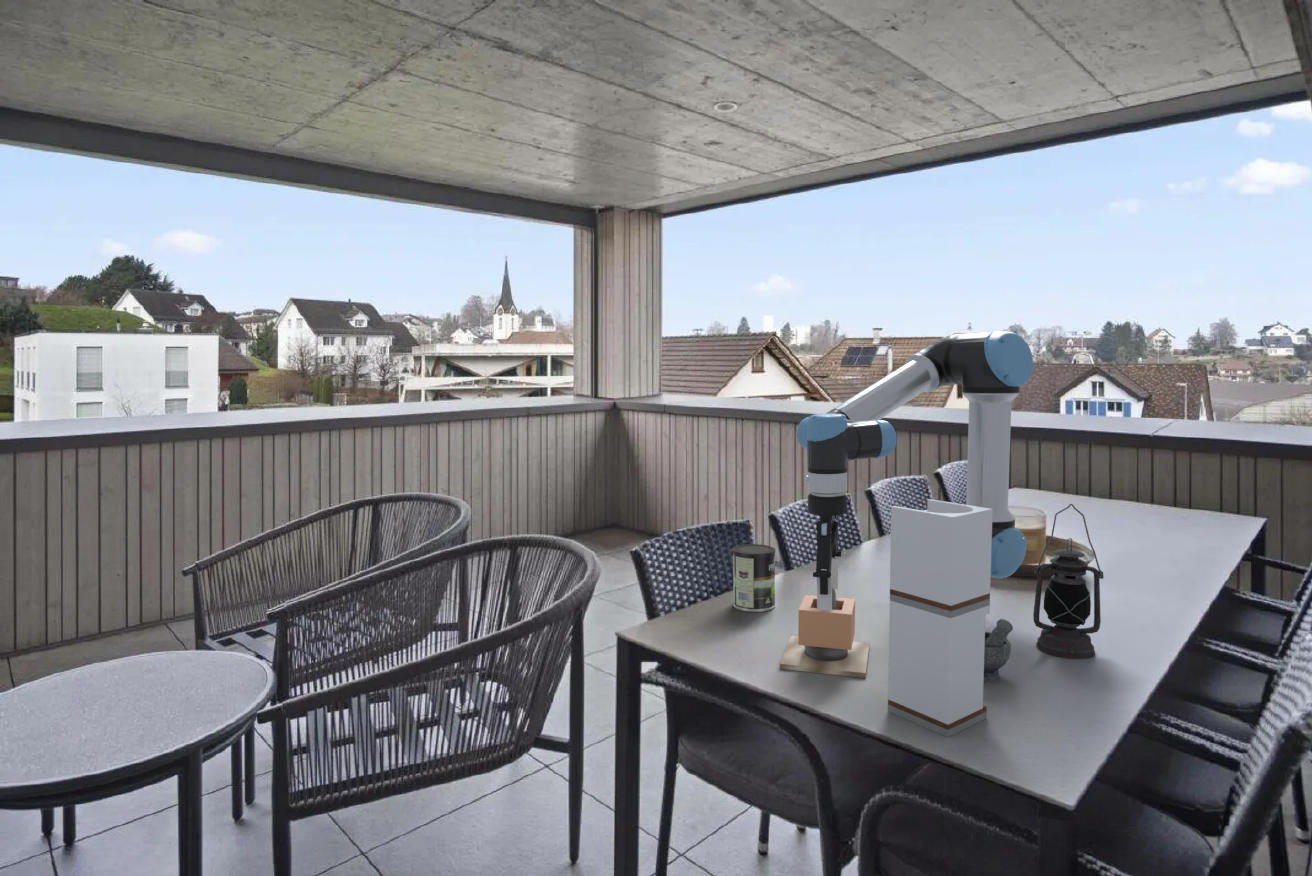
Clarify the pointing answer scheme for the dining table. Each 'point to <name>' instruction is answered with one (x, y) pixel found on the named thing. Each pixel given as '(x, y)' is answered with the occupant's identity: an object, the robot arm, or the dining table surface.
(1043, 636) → the lantern
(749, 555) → the coffee can
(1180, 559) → the dining table surface
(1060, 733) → the dining table surface
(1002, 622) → the mortar and pestle
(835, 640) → the square collar
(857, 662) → the post stand
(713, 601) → the dining table surface
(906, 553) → the white square vase
